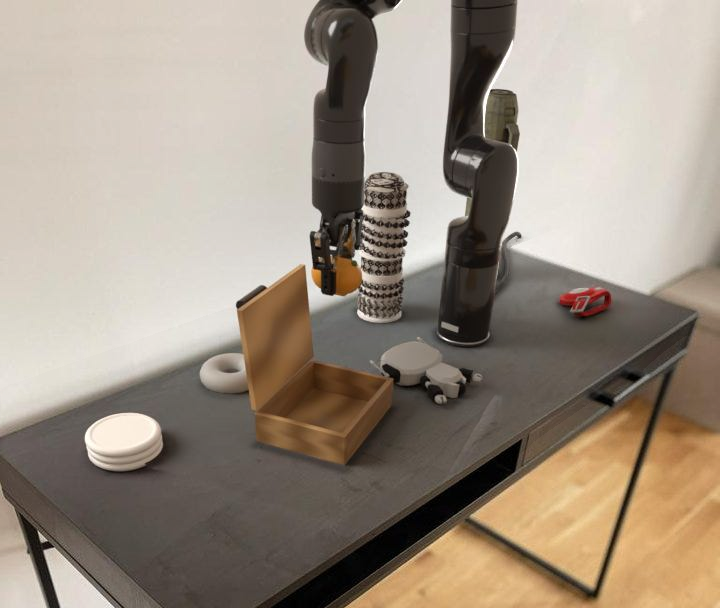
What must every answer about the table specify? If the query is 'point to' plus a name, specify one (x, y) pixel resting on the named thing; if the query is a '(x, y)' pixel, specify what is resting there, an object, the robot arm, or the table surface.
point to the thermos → (500, 123)
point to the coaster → (123, 441)
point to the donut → (225, 374)
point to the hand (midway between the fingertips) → (336, 287)
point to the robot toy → (425, 370)
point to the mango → (342, 276)
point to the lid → (275, 334)
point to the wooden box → (324, 411)
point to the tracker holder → (585, 300)
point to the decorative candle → (383, 247)
